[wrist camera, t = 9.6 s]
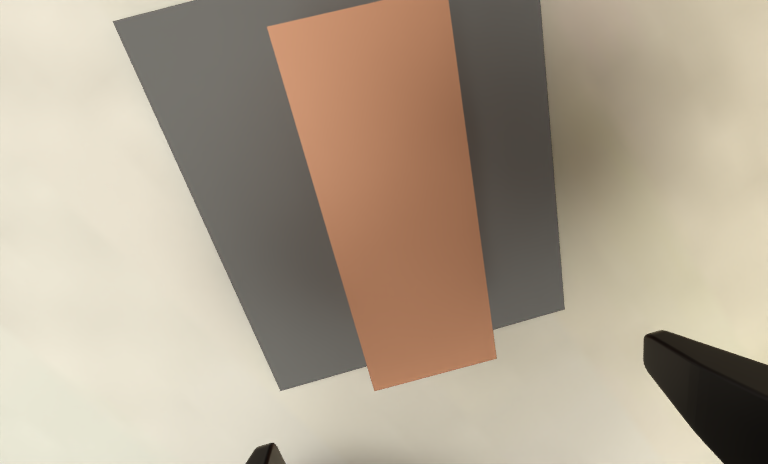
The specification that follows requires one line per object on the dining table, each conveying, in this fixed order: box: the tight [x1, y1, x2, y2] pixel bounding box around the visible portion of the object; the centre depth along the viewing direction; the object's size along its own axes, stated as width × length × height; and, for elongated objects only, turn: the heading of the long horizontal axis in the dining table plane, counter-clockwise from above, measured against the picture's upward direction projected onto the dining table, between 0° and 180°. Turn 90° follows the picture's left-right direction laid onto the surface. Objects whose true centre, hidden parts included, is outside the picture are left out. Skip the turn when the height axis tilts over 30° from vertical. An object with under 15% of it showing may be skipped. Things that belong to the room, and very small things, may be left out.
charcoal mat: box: [113, 0, 565, 391], centre depth 18 cm, size 18×16×1 cm
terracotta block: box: [267, 0, 497, 391], centre depth 15 cm, size 5×5×13 cm
